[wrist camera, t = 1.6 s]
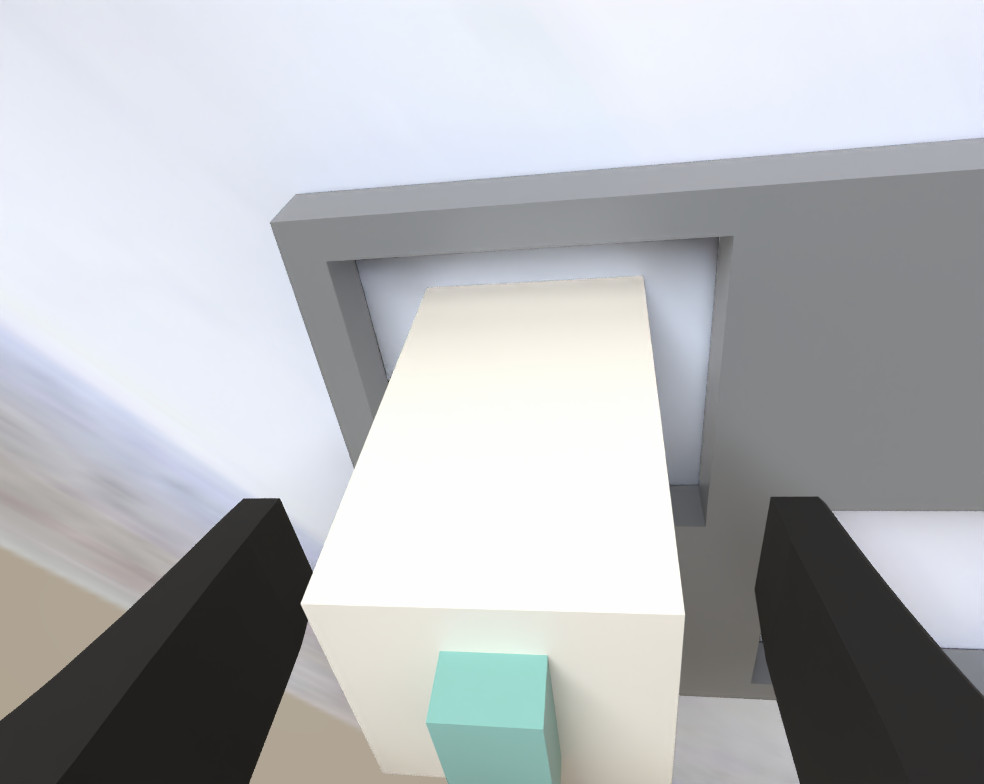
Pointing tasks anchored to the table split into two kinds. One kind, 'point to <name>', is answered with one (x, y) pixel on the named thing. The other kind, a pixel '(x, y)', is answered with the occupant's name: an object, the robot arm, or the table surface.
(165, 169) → the table surface
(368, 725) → the plug
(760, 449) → the socket panel
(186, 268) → the table surface
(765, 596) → the robot arm
